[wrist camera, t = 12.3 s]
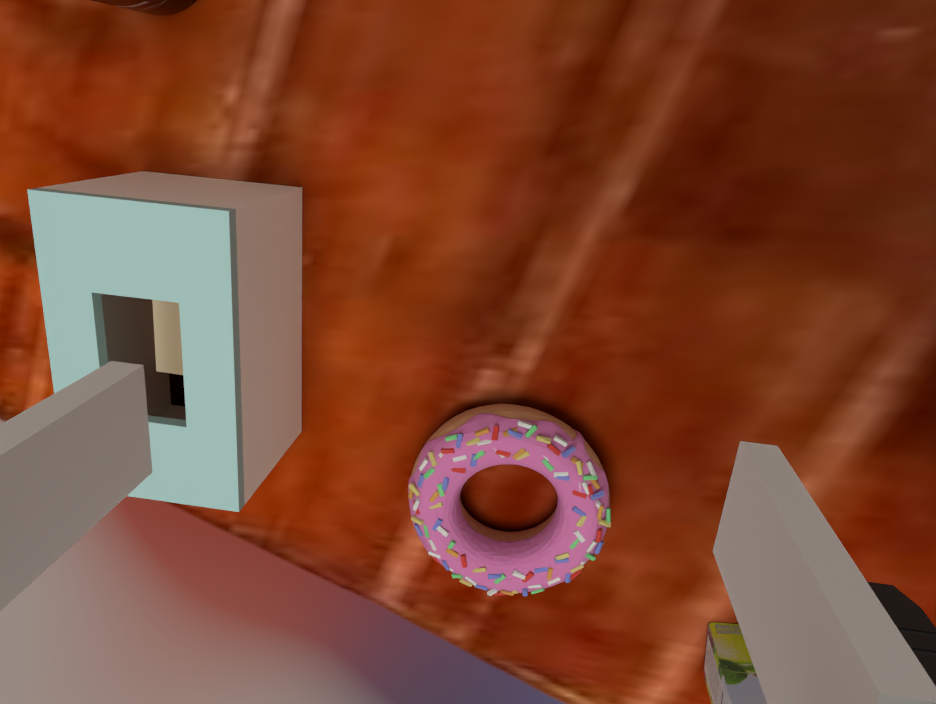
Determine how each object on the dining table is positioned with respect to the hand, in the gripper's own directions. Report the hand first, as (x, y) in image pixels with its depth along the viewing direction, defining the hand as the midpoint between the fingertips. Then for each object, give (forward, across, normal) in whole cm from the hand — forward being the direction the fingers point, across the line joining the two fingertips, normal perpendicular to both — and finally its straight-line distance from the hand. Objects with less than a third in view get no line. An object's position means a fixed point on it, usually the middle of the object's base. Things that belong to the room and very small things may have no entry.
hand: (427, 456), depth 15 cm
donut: (+32, -2, +19) cm, 37 cm away
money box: (+32, +20, +8) cm, 38 cm away
